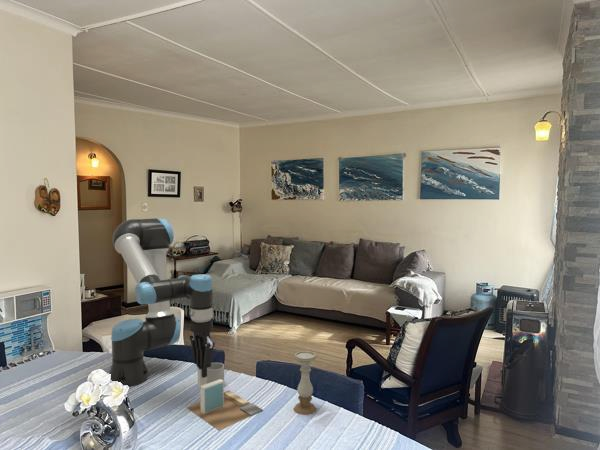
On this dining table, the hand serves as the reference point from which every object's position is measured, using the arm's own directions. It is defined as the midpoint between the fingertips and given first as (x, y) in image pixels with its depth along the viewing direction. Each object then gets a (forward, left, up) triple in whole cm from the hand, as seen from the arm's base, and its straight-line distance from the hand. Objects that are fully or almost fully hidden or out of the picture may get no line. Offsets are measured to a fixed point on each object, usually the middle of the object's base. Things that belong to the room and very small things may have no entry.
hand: (202, 385), depth 150 cm
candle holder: (+28, +23, -8) cm, 37 cm away
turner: (+9, +9, -6) cm, 14 cm away
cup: (-10, +10, -8) cm, 16 cm away
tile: (+6, 0, -6) cm, 9 cm away
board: (+9, +3, -8) cm, 12 cm away
